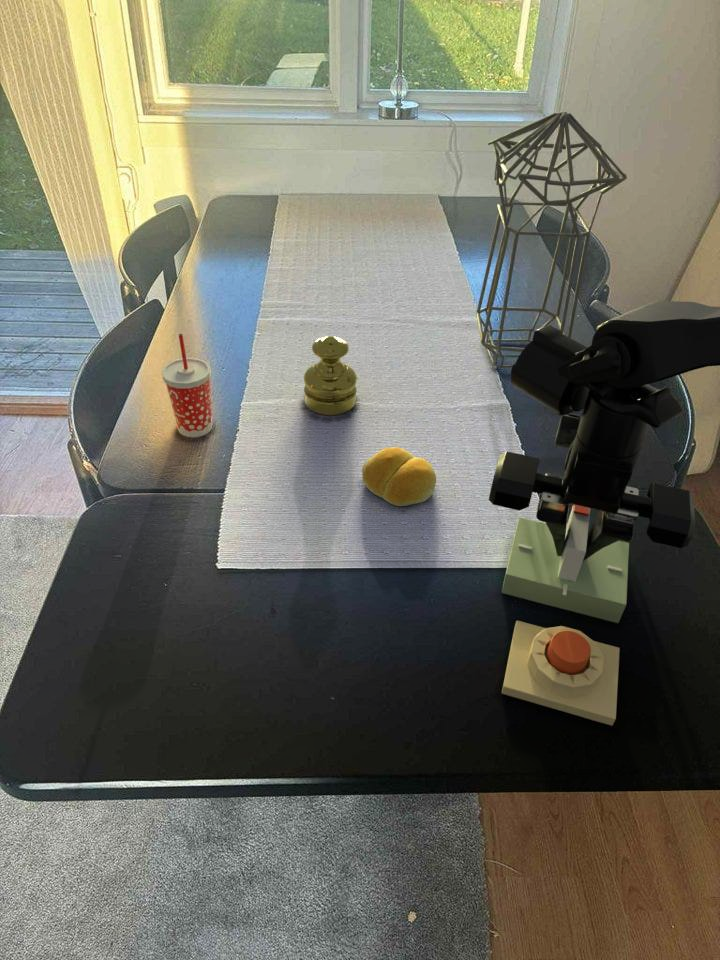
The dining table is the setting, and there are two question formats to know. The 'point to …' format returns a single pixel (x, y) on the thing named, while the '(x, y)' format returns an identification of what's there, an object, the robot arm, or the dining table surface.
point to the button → (568, 652)
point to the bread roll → (399, 477)
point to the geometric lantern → (543, 133)
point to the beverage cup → (189, 393)
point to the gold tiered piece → (330, 379)
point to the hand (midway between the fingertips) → (570, 555)
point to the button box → (562, 675)
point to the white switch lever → (574, 543)
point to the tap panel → (538, 579)
